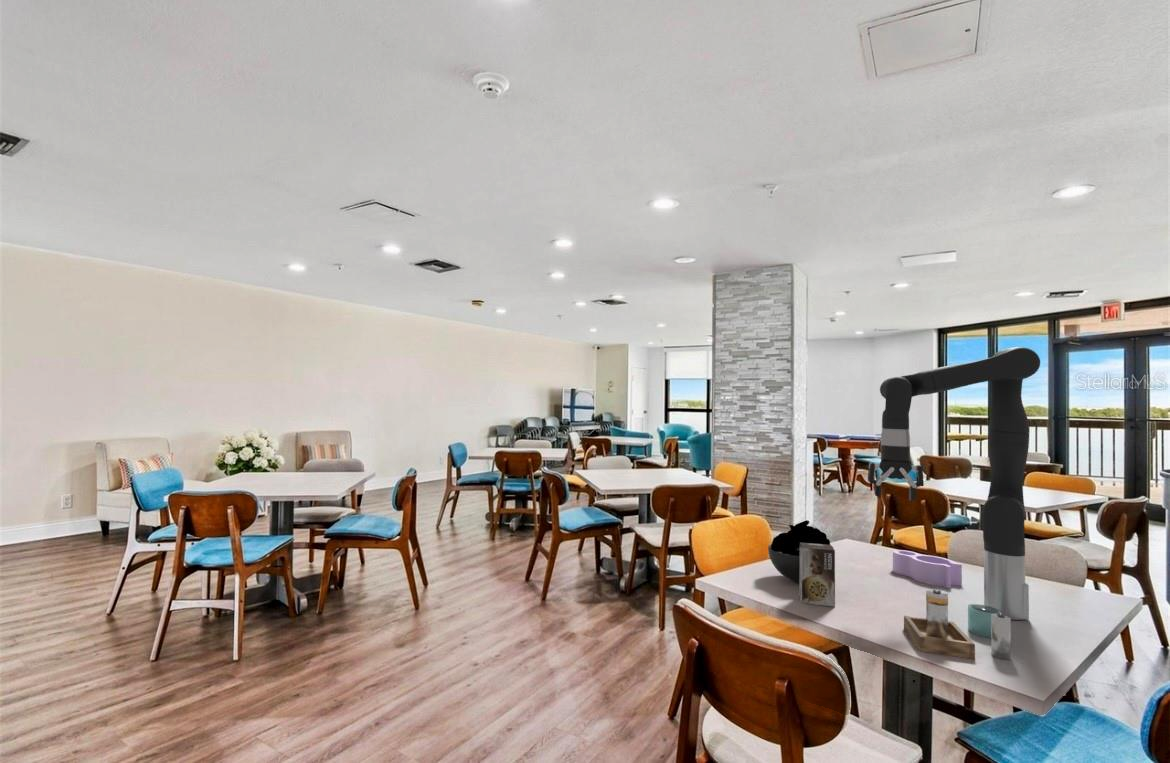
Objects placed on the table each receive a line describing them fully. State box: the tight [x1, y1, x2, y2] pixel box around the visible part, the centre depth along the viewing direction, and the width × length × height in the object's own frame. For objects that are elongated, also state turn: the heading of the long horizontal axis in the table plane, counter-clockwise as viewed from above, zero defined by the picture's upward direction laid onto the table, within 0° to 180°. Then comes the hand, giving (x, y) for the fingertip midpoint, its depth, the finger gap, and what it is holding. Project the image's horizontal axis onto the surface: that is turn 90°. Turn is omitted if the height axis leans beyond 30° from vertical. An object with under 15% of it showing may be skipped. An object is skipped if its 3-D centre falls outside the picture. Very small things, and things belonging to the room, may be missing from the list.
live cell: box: [925, 589, 949, 639], centre depth 132 cm, size 4×4×12 cm
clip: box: [892, 549, 963, 589], centre depth 186 cm, size 20×12×7 cm, turn 28°
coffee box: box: [798, 542, 836, 608], centre depth 159 cm, size 9×6×16 cm
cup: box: [967, 603, 1002, 639], centre depth 140 cm, size 7×7×6 cm
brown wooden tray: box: [903, 615, 976, 660], centre depth 132 cm, size 11×14×3 cm
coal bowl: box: [767, 519, 831, 583], centre depth 178 cm, size 20×20×19 cm
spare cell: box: [990, 613, 1012, 661], centre depth 126 cm, size 4×4×10 cm
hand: (895, 499), depth 161 cm, fingers open, 8 cm apart
